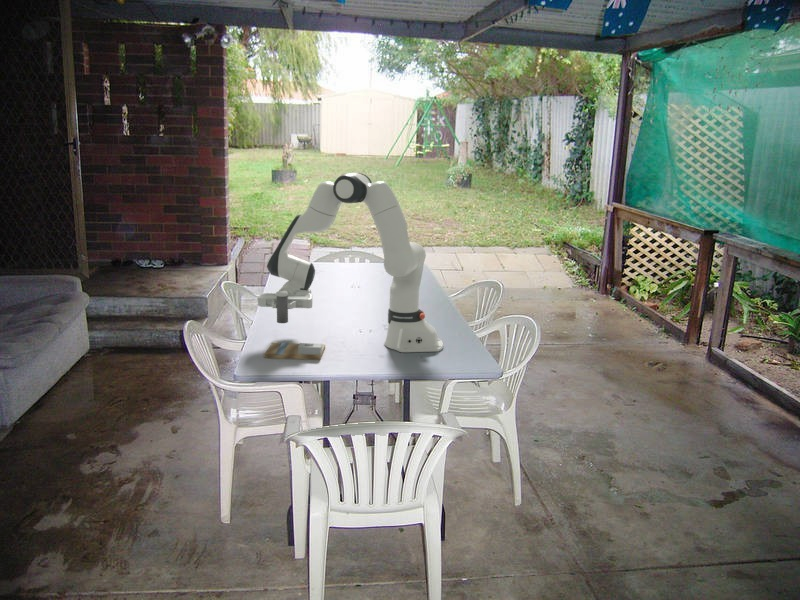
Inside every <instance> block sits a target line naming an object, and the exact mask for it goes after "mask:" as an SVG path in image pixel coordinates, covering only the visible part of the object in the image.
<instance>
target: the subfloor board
mask: <svg viewBox="0 0 800 600" xmlns="http://www.w3.org/2000/svg"><path fill="white" fill-rule="evenodd" d="M300 343H301V342H300ZM300 343H299V342H298V343H295V342H294V343H293V342H292V343H291V342H271V344H269V346H268V348H267V349H266V351H265V353H264V358H265V359H285V360H286V359H288V360H289V359H290V360H311V361H312V360H315V361H317V360H319V361H321V359H322V357H323V354H324V352H325V351H326V344H324V343H321V344H322V353H321V355H305V354H298V346H299V345H300Z"/></svg>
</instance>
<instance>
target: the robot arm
mask: <svg viewBox="0 0 800 600" xmlns="http://www.w3.org/2000/svg"><path fill="white" fill-rule="evenodd" d="M343 203H344V204H359V203H364V204H365V205H366V207H367V208H368V210H369V212H370V215H371V218H372V220H373V222H374V224H375V228H376V230H377V232H378V235H379V238H380V242H381V248H382V252H383V268H384V270H385V272H386V273H387V275H389V276H391V277H393V278H392V282H391V285H390V289H389V308H388V312H387V323H388V326H387V333H386V337H385V341H384V346H385V347H386V348H388V349H391V350H395V351H397V352H400V353H426V352H429V353H430V352H431V353H432V352H440V351H442V350H443V348H444V343H443V341H442V339H440V338H439V337H438V332H437V330H436V328H435V327H434V326H433V325H432V324H430V323H429V322H428V321H427V320H426V319H425V318H426V314H425V313H424V311H423V309H420V308H419V305H420V304H419V303H420V290H421V289H420V288H421V284H422V283H421V281H422V277H423V271H424V264H425V260H426V256H427V253H426V250H425V249H424V246H422V244H420V243H418V242H414V241H410V237H409V233H408V223H407V219H406V217H405V216H404V213H403V210H402V208H401V205H400V203H399V200H398V198H397V196H396V195H395V193H394V191H393V189H392V188H391V186H390V185H389V184H388V182H386V181H383V180H378V181H374V182H372V180H371V178H370V177H369V176H367V175H366V174H364V173H360V172H359V173H358V172H348V173H344V174H341V175H339V176H338V177H337V178H336V179H335V181H334V182H333V181H329V180H327V181H326V180H325V181H322V182H320V183H319V184H318V186H317V188H316V189H315V191H314V192H313V195H312V197H311V199H310V201H309V205H308V207H307V209H306V210H305V211H304V212H303V213H302V214H297V215H296V216H295V217H294V218H293V220H292V221H291V222H290V224H289V226H288V227H287V229H286V231H285V233H284V234H283V236H282V238H281V240H280V241H279V242H278V245H277V247H276V248H275V250H274V251H273V252H272V253H271V255H270V256H269V258H268V260H267V263H266V268H267V270H268V272H269V274H270V275H272V276H274V277H278V278H282V279H284V280H286V282H284V284H283V285H282V287H281V288H280V289H279V290H278V291H286V292H288V304H287V306H288V307H287V309H288V310H293V309H312V308H313V293H312V291H311V290H312V289H310V287H311V286H312V283H313V281H314V279H315V277H316V276H315V275H316V269H315V266H314V264H313V263H312V262H310V261H308V260H306V259H302V258H299V257H298V256H295V255H292V254H290V253H289V252H288V250H289V248H290V246H291V244H292V243H293V241H294V239H295V238H296V236H297V235H299V234H304V233H305V234H307V233H310V234H311V233H312V234H315V233H324V232H326V231H328V230H330V229H331V227H332V226H333V224H334V223H335V220H336V218H337V215H338V212H339V210H340V207H341V206H342V204H343ZM257 306H258V307H261V308H262V307H263V308H265V307H266V308H272V309H277V296H276V293H272V292H271V293H270V292H267V293H262V294H260V295H259V296H258V297H257Z"/></svg>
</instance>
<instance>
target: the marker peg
mask: <svg viewBox="0 0 800 600" xmlns="http://www.w3.org/2000/svg"><path fill="white" fill-rule="evenodd" d="M276 296H277V308H276V322H277V324H287V323H288V322H289V309H287V307H288V306H287V304H288V292H286V291H279V290H278V291H276Z"/></svg>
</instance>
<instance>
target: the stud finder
mask: <svg viewBox="0 0 800 600" xmlns="http://www.w3.org/2000/svg"><path fill="white" fill-rule="evenodd" d="M322 344H323V343H314V342H313V343H312V342H310V343H308V342H300V345H299V346H298V354H305V355H321V353H322Z"/></svg>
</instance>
